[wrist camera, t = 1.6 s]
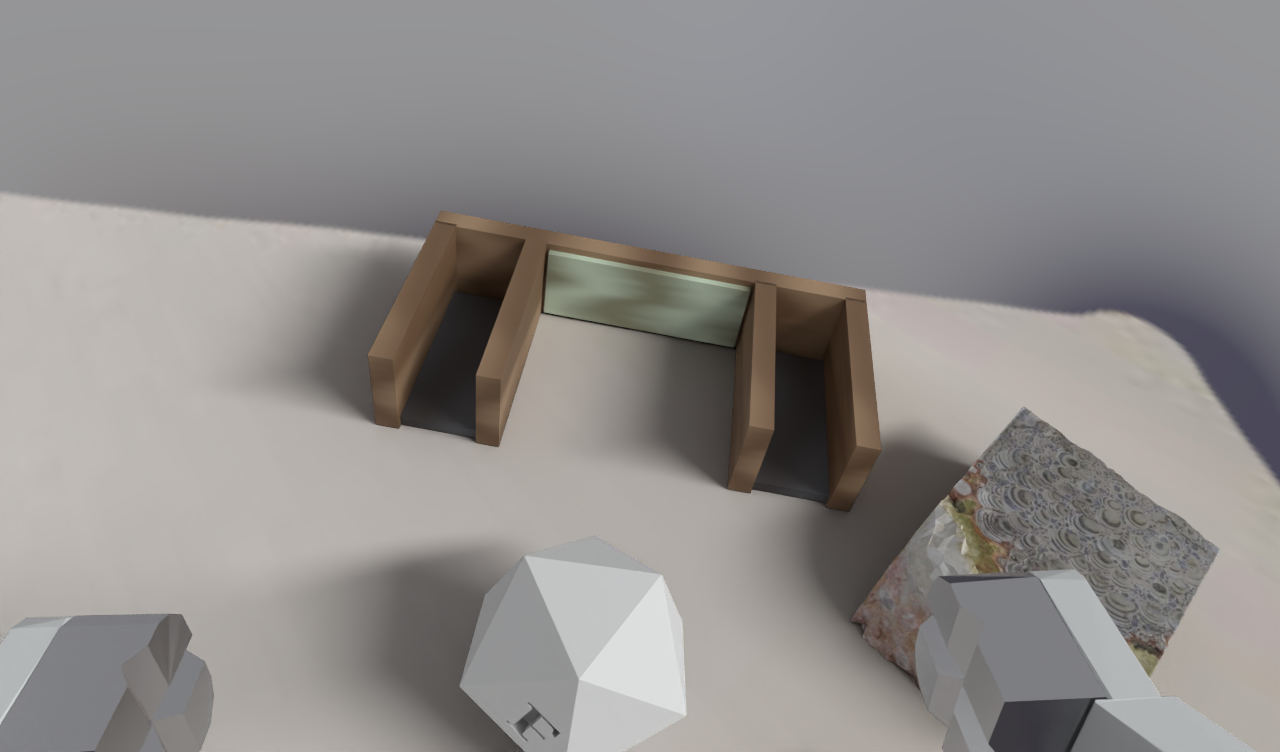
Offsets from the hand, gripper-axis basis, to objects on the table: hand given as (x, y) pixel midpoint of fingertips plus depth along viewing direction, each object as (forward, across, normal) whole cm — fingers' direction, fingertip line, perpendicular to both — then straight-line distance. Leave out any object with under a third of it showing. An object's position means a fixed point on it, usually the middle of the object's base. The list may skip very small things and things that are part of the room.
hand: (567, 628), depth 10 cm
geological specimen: (+21, -20, +26) cm, 39 cm away
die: (+16, +1, +24) cm, 29 cm away
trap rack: (+33, -2, +20) cm, 39 cm away
